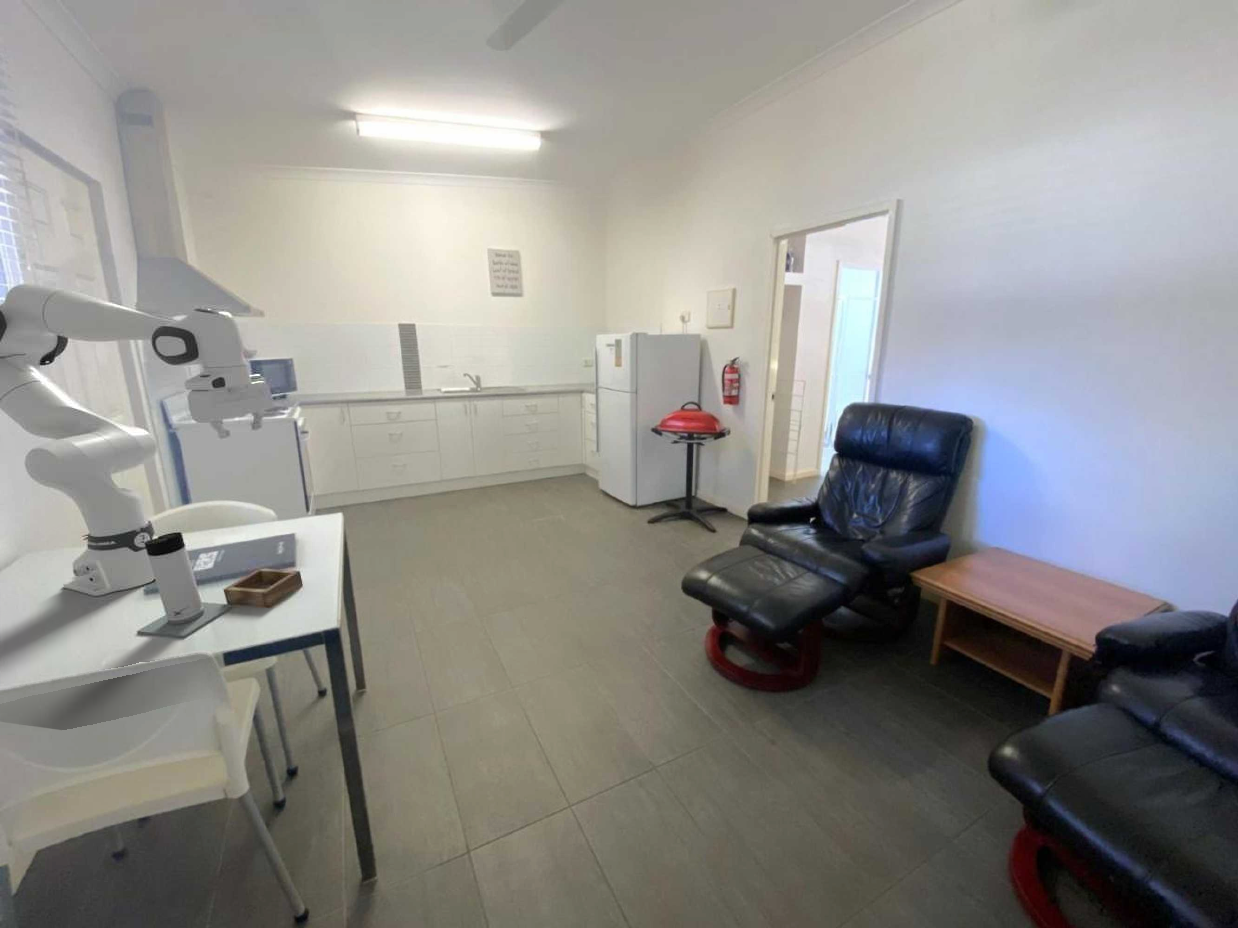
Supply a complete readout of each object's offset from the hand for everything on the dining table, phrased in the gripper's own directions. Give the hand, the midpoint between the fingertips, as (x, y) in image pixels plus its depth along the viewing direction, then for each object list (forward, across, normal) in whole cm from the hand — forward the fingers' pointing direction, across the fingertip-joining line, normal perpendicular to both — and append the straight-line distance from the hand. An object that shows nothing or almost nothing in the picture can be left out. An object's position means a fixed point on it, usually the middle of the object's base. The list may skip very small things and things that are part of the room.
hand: (241, 433), depth 128 cm
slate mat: (+37, +25, +1) cm, 45 cm away
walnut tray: (+37, +13, +10) cm, 41 cm away
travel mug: (+37, +25, +1) cm, 44 cm away
